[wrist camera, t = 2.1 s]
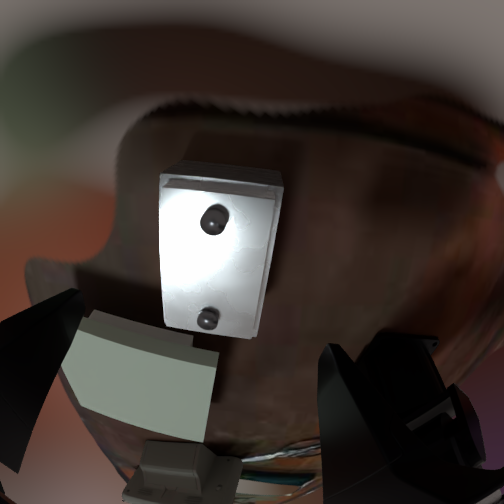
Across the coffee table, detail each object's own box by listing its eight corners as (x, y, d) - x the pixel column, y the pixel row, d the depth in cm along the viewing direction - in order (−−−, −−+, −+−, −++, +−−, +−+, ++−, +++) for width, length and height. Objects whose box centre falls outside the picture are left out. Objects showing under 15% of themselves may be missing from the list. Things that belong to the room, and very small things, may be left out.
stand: (224, 321, 18) (216, 368, 15) (208, 407, 24) (202, 442, 20) (69, 282, 18) (41, 315, 14) (95, 375, 23) (81, 405, 20)
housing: (279, 170, 14) (285, 194, 10) (258, 298, 17) (255, 350, 14) (182, 159, 14) (150, 179, 10) (179, 287, 17) (159, 335, 14)
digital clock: (148, 454, 34) (134, 507, 25) (123, 430, 30) (103, 492, 20) (247, 464, 32) (242, 525, 23) (237, 444, 28) (230, 519, 19)
